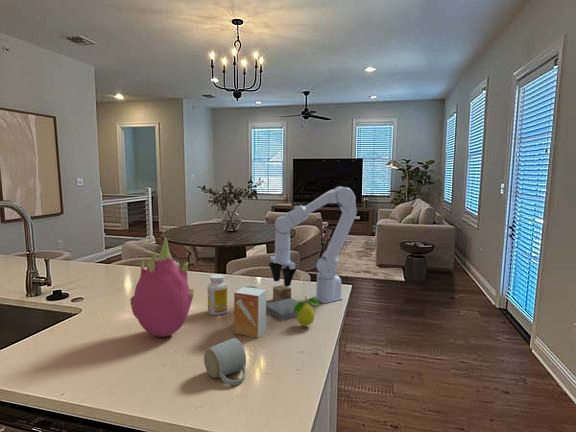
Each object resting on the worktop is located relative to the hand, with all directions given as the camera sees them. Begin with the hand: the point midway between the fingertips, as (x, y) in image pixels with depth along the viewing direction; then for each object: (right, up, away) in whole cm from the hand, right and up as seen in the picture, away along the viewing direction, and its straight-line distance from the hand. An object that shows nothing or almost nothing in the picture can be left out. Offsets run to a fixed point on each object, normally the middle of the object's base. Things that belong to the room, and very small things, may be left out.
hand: (281, 283), depth 144 cm
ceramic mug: (-12, -13, -53) cm, 56 cm away
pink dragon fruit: (-35, -10, -32) cm, 48 cm away
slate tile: (+2, -8, -11) cm, 14 cm away
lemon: (+8, -10, -24) cm, 27 cm away
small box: (-9, -10, -29) cm, 32 cm away
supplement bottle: (-22, -8, -13) cm, 27 cm away
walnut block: (0, -7, +1) cm, 7 cm away
